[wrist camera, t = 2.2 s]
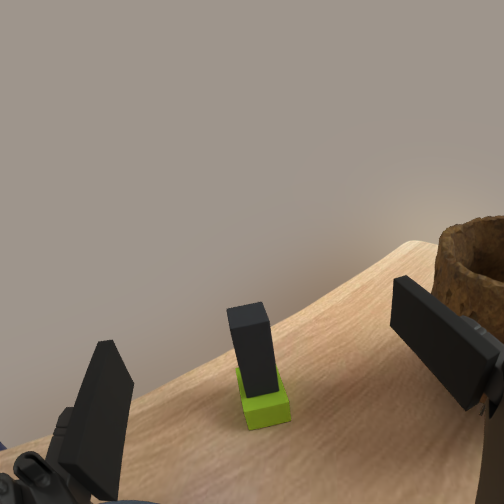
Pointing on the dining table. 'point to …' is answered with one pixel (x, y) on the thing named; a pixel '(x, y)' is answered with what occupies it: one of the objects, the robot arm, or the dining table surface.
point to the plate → (128, 502)
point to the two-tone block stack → (257, 367)
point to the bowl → (473, 273)
